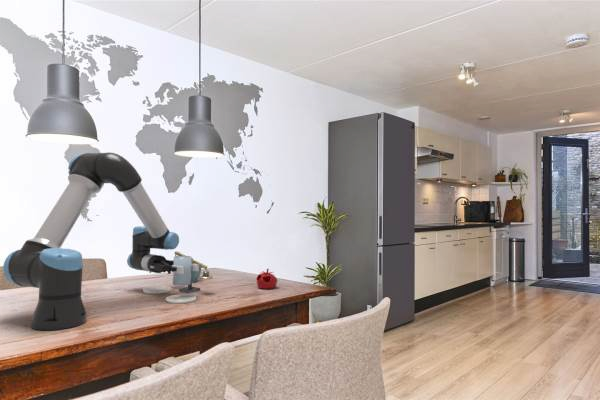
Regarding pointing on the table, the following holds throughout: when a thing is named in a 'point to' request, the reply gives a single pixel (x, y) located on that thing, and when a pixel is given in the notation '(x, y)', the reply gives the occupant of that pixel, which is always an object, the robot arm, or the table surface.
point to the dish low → (180, 299)
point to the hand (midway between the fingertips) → (190, 269)
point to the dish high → (157, 289)
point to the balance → (190, 288)
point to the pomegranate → (266, 280)
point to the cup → (186, 277)
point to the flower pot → (196, 274)
